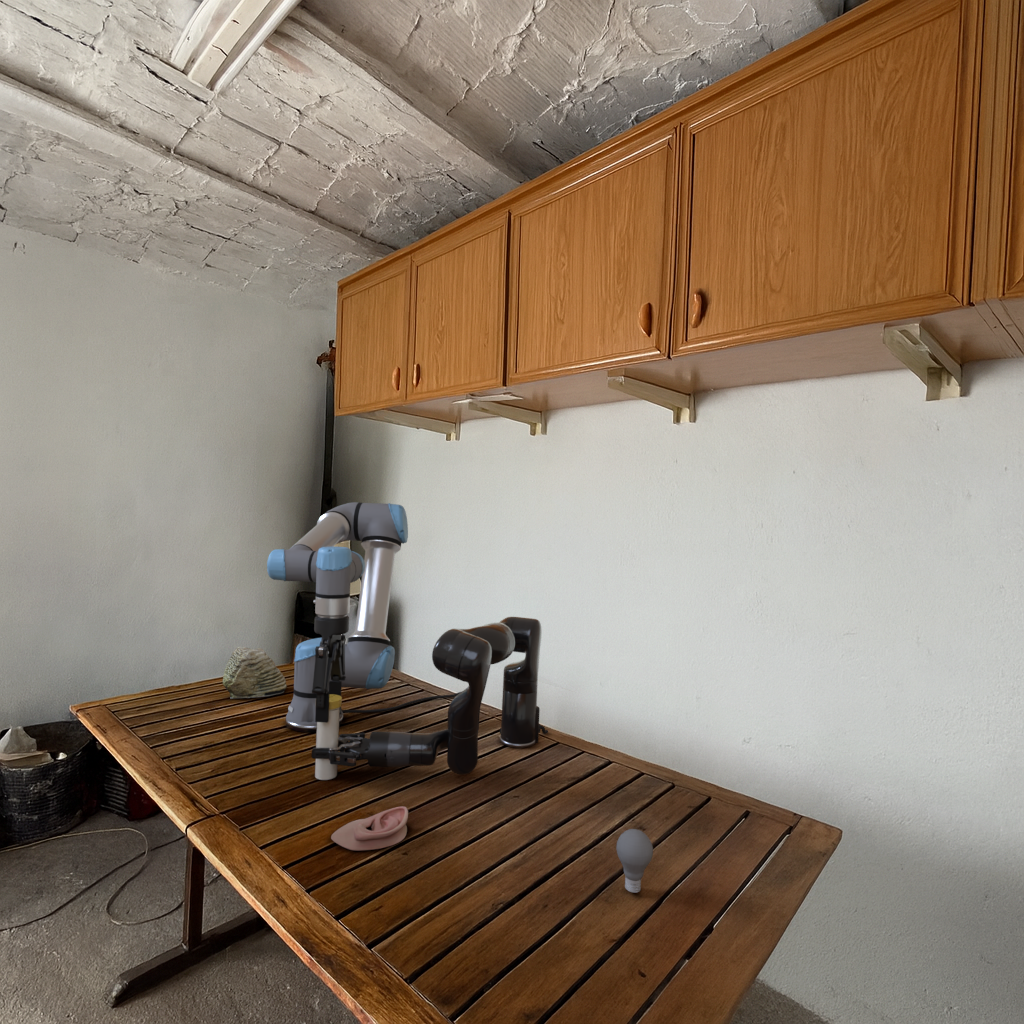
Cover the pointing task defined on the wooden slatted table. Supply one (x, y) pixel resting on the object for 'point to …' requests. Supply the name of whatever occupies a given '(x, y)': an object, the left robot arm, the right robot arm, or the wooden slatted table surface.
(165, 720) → the wooden slatted table surface
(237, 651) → the fossil
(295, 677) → the left robot arm
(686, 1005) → the wooden slatted table surface
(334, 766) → the jar
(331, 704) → the lid
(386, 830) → the anatomical model
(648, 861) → the light bulb
